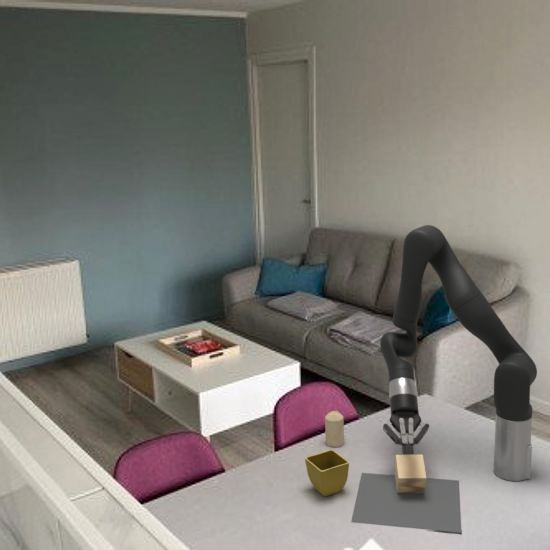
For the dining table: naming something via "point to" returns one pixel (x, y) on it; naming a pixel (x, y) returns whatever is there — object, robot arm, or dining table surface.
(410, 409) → the robot arm
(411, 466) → the cube
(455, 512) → the mat
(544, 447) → the dining table surface
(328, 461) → the flower pot
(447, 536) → the dining table surface
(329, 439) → the candle
